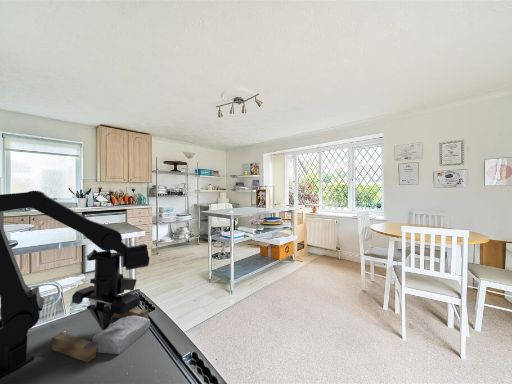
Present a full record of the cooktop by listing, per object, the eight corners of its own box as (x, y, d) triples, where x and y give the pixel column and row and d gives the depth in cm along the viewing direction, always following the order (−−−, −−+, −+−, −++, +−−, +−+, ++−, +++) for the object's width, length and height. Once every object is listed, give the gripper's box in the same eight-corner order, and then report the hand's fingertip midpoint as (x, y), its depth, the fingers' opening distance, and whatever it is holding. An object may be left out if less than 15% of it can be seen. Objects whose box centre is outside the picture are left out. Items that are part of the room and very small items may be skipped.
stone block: (86, 358, 55) (121, 356, 53) (85, 337, 55) (119, 335, 54) (124, 331, 67) (153, 329, 65) (122, 314, 67) (151, 312, 65)
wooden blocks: (51, 349, 55) (52, 335, 55) (117, 313, 72) (118, 302, 72) (87, 362, 51) (87, 347, 51) (148, 321, 68) (148, 310, 68)
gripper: (155, 268, 67) (153, 321, 66) (109, 261, 72) (107, 309, 72) (123, 282, 56) (120, 344, 56) (71, 272, 62) (69, 328, 62)
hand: (105, 329), depth 62 cm, fingers closed
